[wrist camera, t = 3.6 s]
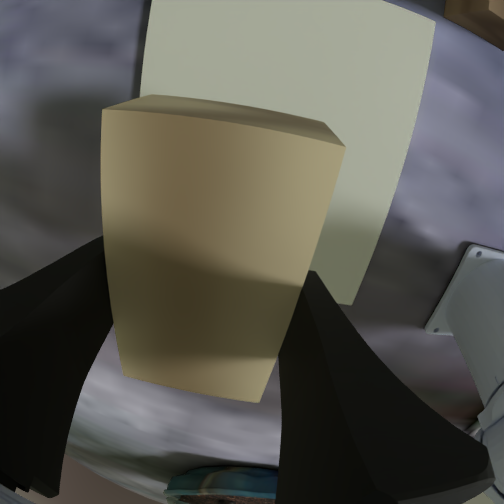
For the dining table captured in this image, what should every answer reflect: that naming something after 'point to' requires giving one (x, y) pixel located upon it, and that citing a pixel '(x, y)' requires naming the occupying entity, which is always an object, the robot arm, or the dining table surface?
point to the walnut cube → (479, 18)
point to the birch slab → (209, 236)
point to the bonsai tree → (223, 486)
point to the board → (308, 93)
